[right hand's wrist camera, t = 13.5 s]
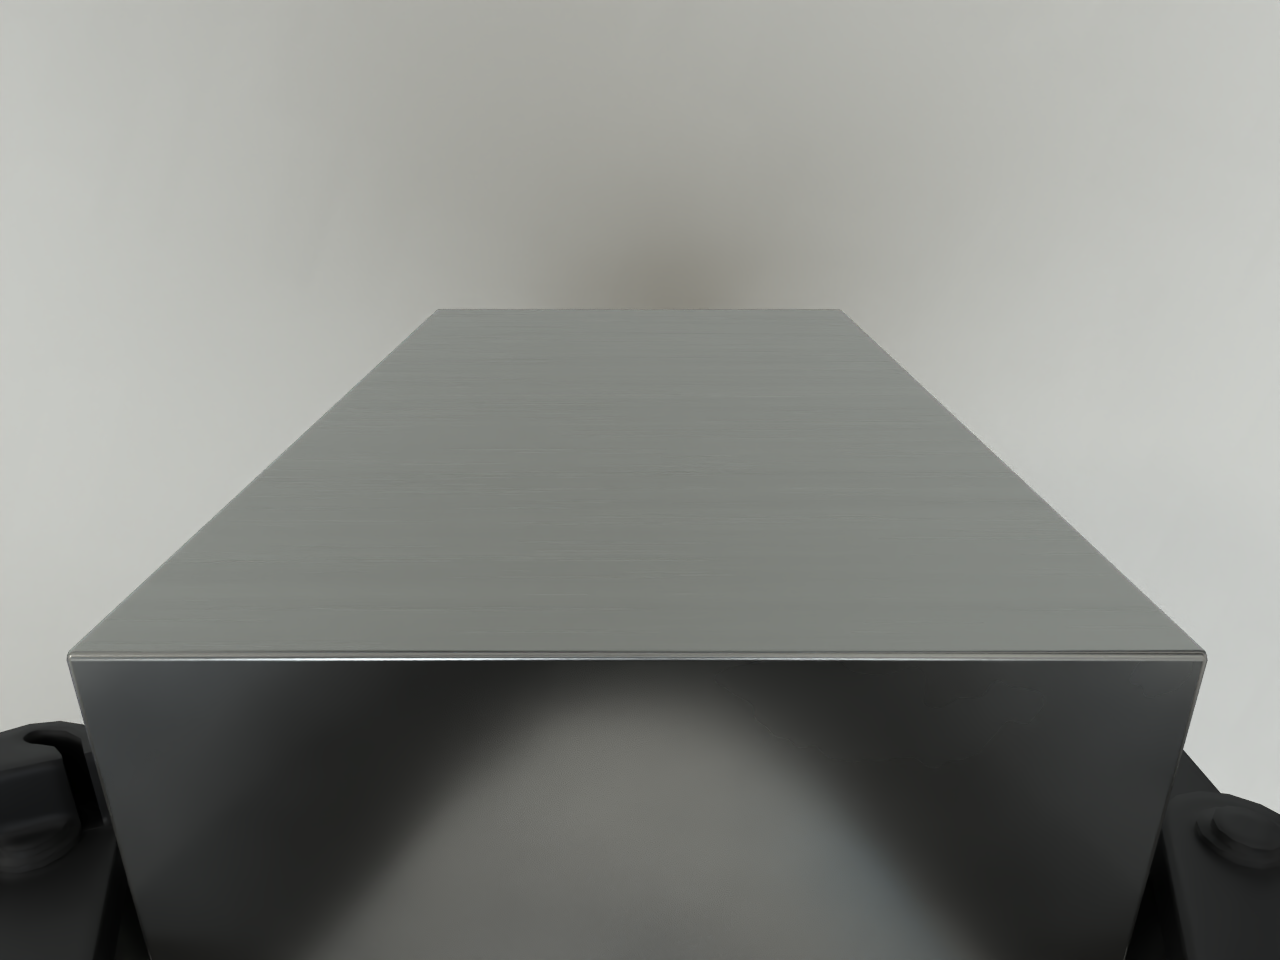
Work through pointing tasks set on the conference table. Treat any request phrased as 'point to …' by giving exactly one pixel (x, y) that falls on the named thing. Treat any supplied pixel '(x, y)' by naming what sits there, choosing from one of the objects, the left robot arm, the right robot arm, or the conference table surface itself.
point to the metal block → (637, 670)
